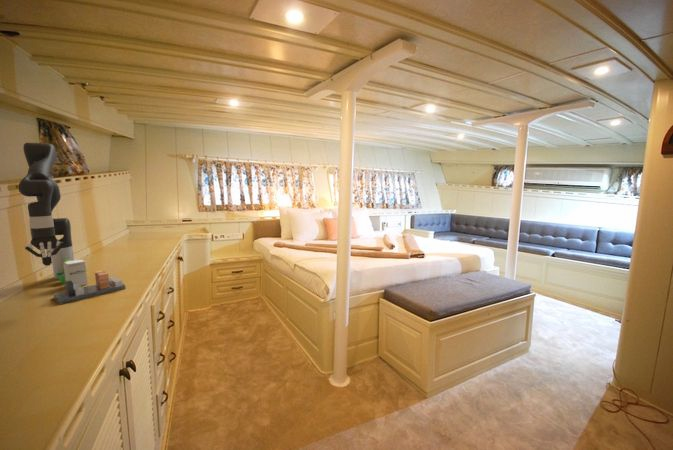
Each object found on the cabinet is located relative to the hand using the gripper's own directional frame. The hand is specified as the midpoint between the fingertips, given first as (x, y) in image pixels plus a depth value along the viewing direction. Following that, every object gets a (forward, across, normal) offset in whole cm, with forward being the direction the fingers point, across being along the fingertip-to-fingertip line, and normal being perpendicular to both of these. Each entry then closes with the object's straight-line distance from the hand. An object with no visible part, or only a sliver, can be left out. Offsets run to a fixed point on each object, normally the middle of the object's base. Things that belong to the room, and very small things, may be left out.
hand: (47, 265), depth 133 cm
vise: (+17, +13, 0) cm, 22 cm away
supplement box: (+17, +12, +20) cm, 29 cm away
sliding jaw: (+15, +8, 0) cm, 17 cm away
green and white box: (+17, +12, +31) cm, 38 cm away
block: (+15, +19, 0) cm, 24 cm away
